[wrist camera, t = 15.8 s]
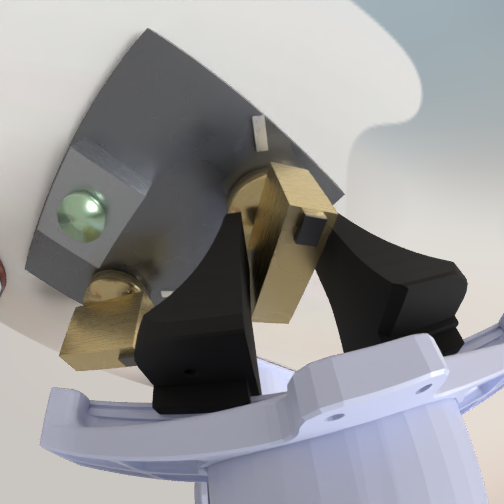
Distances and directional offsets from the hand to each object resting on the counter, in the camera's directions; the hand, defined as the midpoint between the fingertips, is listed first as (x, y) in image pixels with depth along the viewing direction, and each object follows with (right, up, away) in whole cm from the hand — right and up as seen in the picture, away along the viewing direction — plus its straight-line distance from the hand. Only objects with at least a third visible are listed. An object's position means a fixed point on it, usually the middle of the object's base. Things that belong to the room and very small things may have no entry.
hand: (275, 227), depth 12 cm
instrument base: (-6, 0, +3) cm, 7 cm away
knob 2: (0, +1, +1) cm, 2 cm away
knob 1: (-9, -4, +4) cm, 11 cm away
